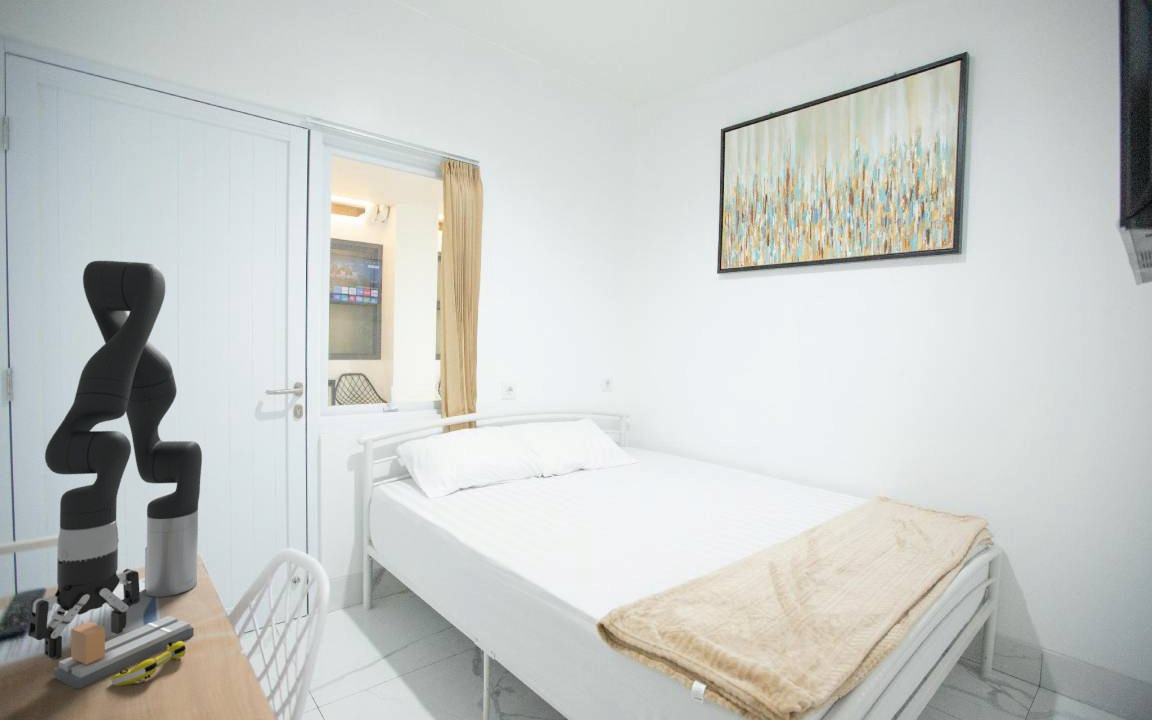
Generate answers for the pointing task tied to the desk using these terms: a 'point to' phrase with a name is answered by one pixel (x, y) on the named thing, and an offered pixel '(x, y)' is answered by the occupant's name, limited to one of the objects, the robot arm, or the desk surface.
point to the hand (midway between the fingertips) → (87, 645)
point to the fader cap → (87, 642)
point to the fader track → (124, 651)
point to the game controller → (149, 666)
